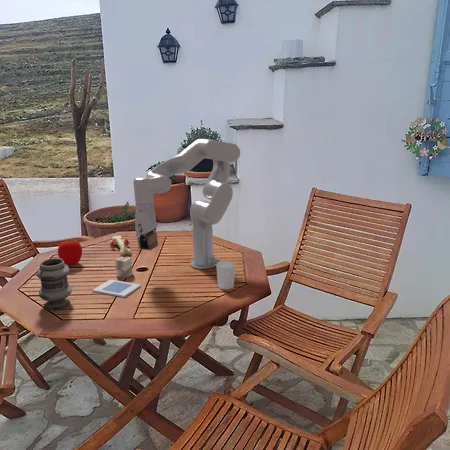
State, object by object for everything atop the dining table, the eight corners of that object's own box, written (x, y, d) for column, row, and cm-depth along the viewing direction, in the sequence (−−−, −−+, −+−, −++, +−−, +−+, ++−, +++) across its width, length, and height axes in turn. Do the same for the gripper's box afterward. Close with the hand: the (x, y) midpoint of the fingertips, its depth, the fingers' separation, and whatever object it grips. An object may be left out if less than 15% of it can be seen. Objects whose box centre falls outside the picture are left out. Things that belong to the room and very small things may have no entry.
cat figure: (136, 256, 228) (124, 240, 249) (135, 241, 225) (123, 225, 246) (117, 260, 224) (106, 242, 245) (115, 244, 221) (105, 228, 242)
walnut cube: (158, 245, 194) (156, 232, 192) (150, 250, 188) (149, 236, 187) (146, 244, 196) (145, 231, 194) (138, 248, 191) (137, 235, 189)
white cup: (222, 291, 182) (221, 269, 179) (213, 285, 189) (213, 263, 186) (238, 287, 186) (238, 265, 183) (229, 281, 192) (229, 260, 190)
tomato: (64, 270, 207) (61, 245, 203) (56, 264, 214) (53, 239, 211) (87, 265, 214) (85, 239, 210) (78, 259, 222) (75, 235, 218)
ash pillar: (132, 274, 202) (131, 257, 200) (126, 278, 197) (124, 261, 195) (123, 272, 204) (121, 256, 201) (116, 276, 199) (115, 260, 197)
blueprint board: (141, 286, 188) (141, 284, 188) (124, 297, 178) (124, 295, 177) (110, 281, 194) (110, 279, 194) (92, 291, 183) (92, 289, 183)
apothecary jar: (41, 314, 164) (35, 269, 159) (40, 301, 175) (34, 259, 170) (75, 308, 169) (70, 264, 164) (72, 296, 180) (67, 254, 175)
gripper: (148, 200, 196) (151, 239, 201) (125, 210, 180) (129, 251, 186) (162, 201, 193) (165, 240, 198) (141, 211, 178) (145, 253, 183)
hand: (148, 245), depth 192 cm, fingers closed on walnut cube, 6 cm apart
